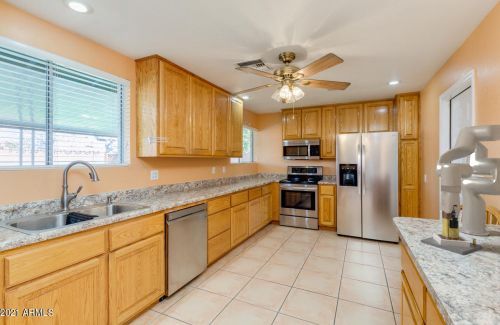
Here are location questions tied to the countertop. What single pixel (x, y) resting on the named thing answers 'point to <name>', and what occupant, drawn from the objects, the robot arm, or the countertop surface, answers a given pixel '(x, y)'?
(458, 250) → the locating plate
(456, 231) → the sauce bottle
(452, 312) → the countertop surface
